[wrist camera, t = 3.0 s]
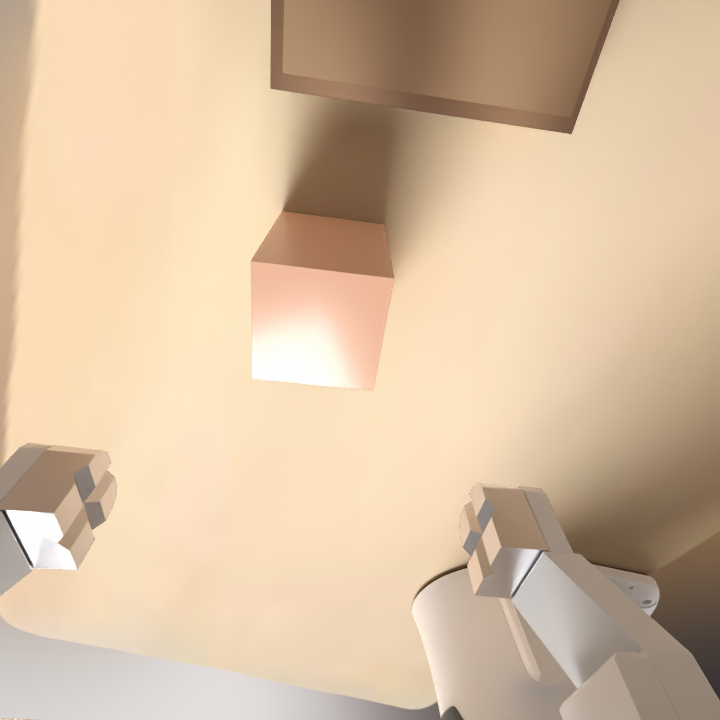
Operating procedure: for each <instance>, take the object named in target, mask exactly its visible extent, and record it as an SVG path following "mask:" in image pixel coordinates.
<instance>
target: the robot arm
mask: <svg viewBox="0 0 720 720" xmlns="http://www.w3.org/2000/svg"><path fill="white" fill-rule="evenodd" d="M110 464H111V461H110V458H109V455H108V452H106V451H100V450H92V449H83V448H74V447H65V446H56V445H45V444H35V443H28V444H26V445H24V446H22V447H20V448H19V449H18V450H17V451H16V452H15V453H14V454H13V455H12V456H11V457H10V458H9V459H8V460H7V461H6V463H5V464H4V465H3V466H2V467H1V468H0V596H1V595H2V594H3V593H5V592H6V591H7V590H9V589H10V588H11V587H12V586H14V585H15V584H16V583H17V582H19V581H20V580H21V579H22V578H24V577H25V576H26V575H27V574H29V573H30V572H31V571H32V569H31V568H40V569H68V570H78V568H79V566H80V564H81V563H82V561H83V559H84V557H85V556H86V554H87V552H88V551H89V549H90V547H91V545H92V544H93V542H94V540H95V538H94V533H93V529H94V528H96V527H97V526H99V525H100V524H101V523H103V522H104V521H106V519H107V517H108V516H109V514H110V512H111V510H112V508H113V505H114V502H115V498H116V495H117V484H116V480H115V477H114V476H113V475H112V474H111V473H110V472H108V471H107V468H108V467H109V465H110ZM470 497H471V500H472V501H471V502H470V503H468V504H467V505H465V506H464V508H463V511H462V513H461V517H460V537H461V541H462V546H463V548H464V549H465V550H466V551H467V552H468V553H469V555H470V556H471V559H470V561H469V563H468V565H467V567H468V568H466V569H462V570H459V571H456V572H453V573H450V574H448V575H445V576H443V577H441V578H439V579H437V580H435V581H434V582H432V583H431V584H429V585H428V586H427V587H425V588H424V589H423V590H422V591H421V592H420V593H419V594H418V596H417V597H416V599H415V601H414V603H413V606H412V614H413V617H414V620H415V622H416V625H417V627H418V630H419V633H420V635H421V638H422V641H423V645H424V648H425V651H426V655H427V658H428V662H429V666H430V670H431V674H432V678H433V682H434V687H435V691H436V696H437V700H438V705H439V710H440V716H441V719H440V720H720V701H719V699H718V697H717V696H716V694H715V693H714V691H713V689H712V687H711V686H710V684H709V682H708V681H707V679H706V677H705V676H704V674H703V672H702V670H701V669H700V668H699V665H698V664H697V662H696V660H695V659H694V657H693V655H692V654H691V653H690V652H689V651H688V650H687V649H685V647H683V646H682V645H681V644H680V643H679V642H678V641H677V640H676V639H674V638H673V637H672V636H671V635H670V634H669V633H668V632H667V631H666V630H664V629H663V628H662V627H661V626H660V625H659V624H658V623H657V622H655V621H654V620H653V619H652V618H651V617H650V615H651V614H652V612H653V611H654V609H655V608H656V606H657V604H658V601H659V595H660V593H659V588H658V586H657V584H656V581H655V579H654V578H652V577H650V576H646V575H642V574H637V573H632V572H628V571H623V570H618V569H613V568H609V567H604V566H599V565H594V564H591V563H590V562H589V561H587V560H586V559H585V558H584V557H583V556H582V555H581V554H574V553H573V550H572V548H571V546H570V544H569V542H568V540H567V538H566V536H565V534H564V532H563V530H562V528H561V525H560V523H559V521H558V519H557V517H556V515H555V513H554V511H553V509H552V507H551V505H550V503H549V500H548V498H547V496H546V494H545V492H544V491H543V490H542V489H540V488H530V487H517V486H509V485H496V484H483V483H476V484H475V485H474V486H473V487H472V489H471V492H470ZM0 720H30V719H0Z"/></svg>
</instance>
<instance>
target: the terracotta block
mask: <svg viewBox="0 0 720 720" xmlns="http://www.w3.org/2000/svg"><path fill="white" fill-rule="evenodd" d="M393 282H394V275H393V270H392V264H391V259H390V253H389V248H388V242H387V237H386V231H385V226H384V224H378V223H370V222H363V221H355V220H348V219H340V218H332V217H325V216H317V215H309V214H302V213H294V212H286V211H282V212H281V214H280V215H279V217H278V219H277V220H276V222H275V223H274V225H273V227H272V228H271V230H270V231H269V233H268V234H267V236H266V238H265V239H264V241H263V242H262V244H261V246H260V247H259V249H258V250H257V252H256V254H255V255H254V257H253V258H252V260H251V310H252V370H253V378H254V379H264V380H273V381H283V382H293V383H303V384H313V385H323V386H332V387H342V388H352V389H362V390H372V391H374V386H375V380H376V375H377V369H378V364H379V358H380V353H381V347H382V342H383V336H384V331H385V326H386V320H387V315H388V309H389V304H390V298H391V293H392V287H393Z"/></svg>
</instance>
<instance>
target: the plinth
mask: <svg viewBox="0 0 720 720" xmlns="http://www.w3.org/2000/svg"><path fill="white" fill-rule="evenodd" d="M618 3H619V0H271V89H277V90H283V91H290V92H296V93H303V94H310V95H316V96H323V97H330V98H336V99H343V100H350V101H356V102H363V103H369V104H376V105H383V106H389V107H396V108H403V109H409V110H416V111H422V112H429V113H436V114H442V115H449V116H456V117H462V118H469V119H476V120H482V121H489V122H495V123H502V124H509V125H515V126H522V127H529V128H535V129H542V130H548V131H555V132H562V133H568V134H572V131H573V128H574V126H575V123H576V120H577V117H578V114H579V112H580V109H581V106H582V103H583V101H584V98H585V95H586V92H587V89H588V87H589V84H590V81H591V78H592V75H593V73H594V70H595V67H596V64H597V61H598V59H599V56H600V53H601V50H602V48H603V45H604V42H605V39H606V36H607V34H608V31H609V28H610V25H611V22H612V20H613V17H614V14H615V11H616V8H617V6H618Z"/></svg>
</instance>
